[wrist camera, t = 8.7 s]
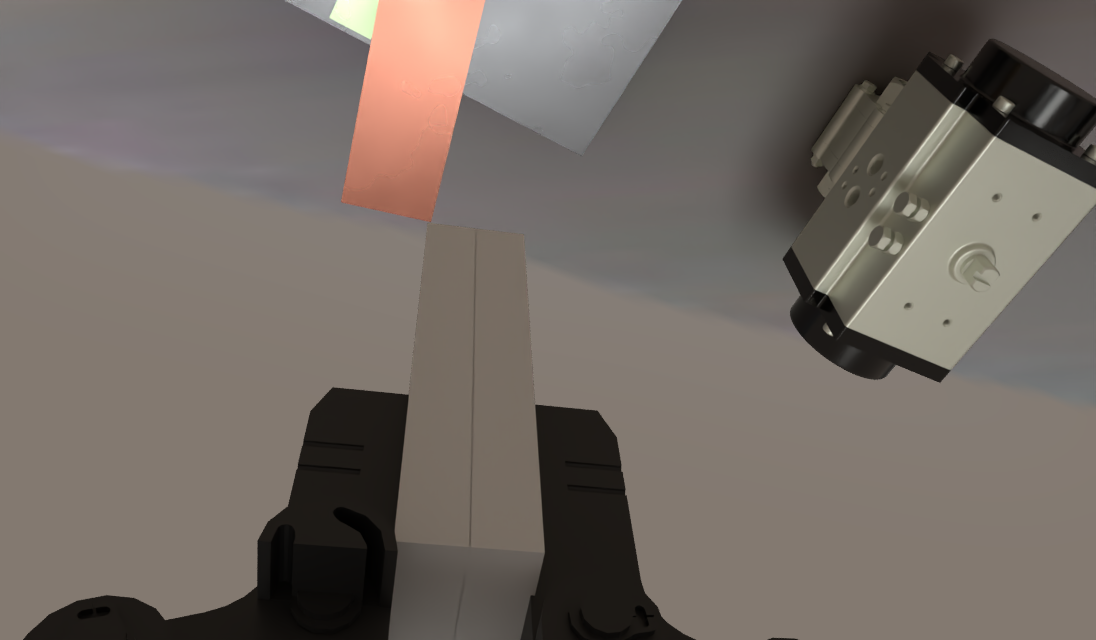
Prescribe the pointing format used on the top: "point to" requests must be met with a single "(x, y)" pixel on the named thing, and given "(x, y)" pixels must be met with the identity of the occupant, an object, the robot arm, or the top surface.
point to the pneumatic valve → (938, 208)
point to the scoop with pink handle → (410, 103)
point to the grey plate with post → (542, 56)
